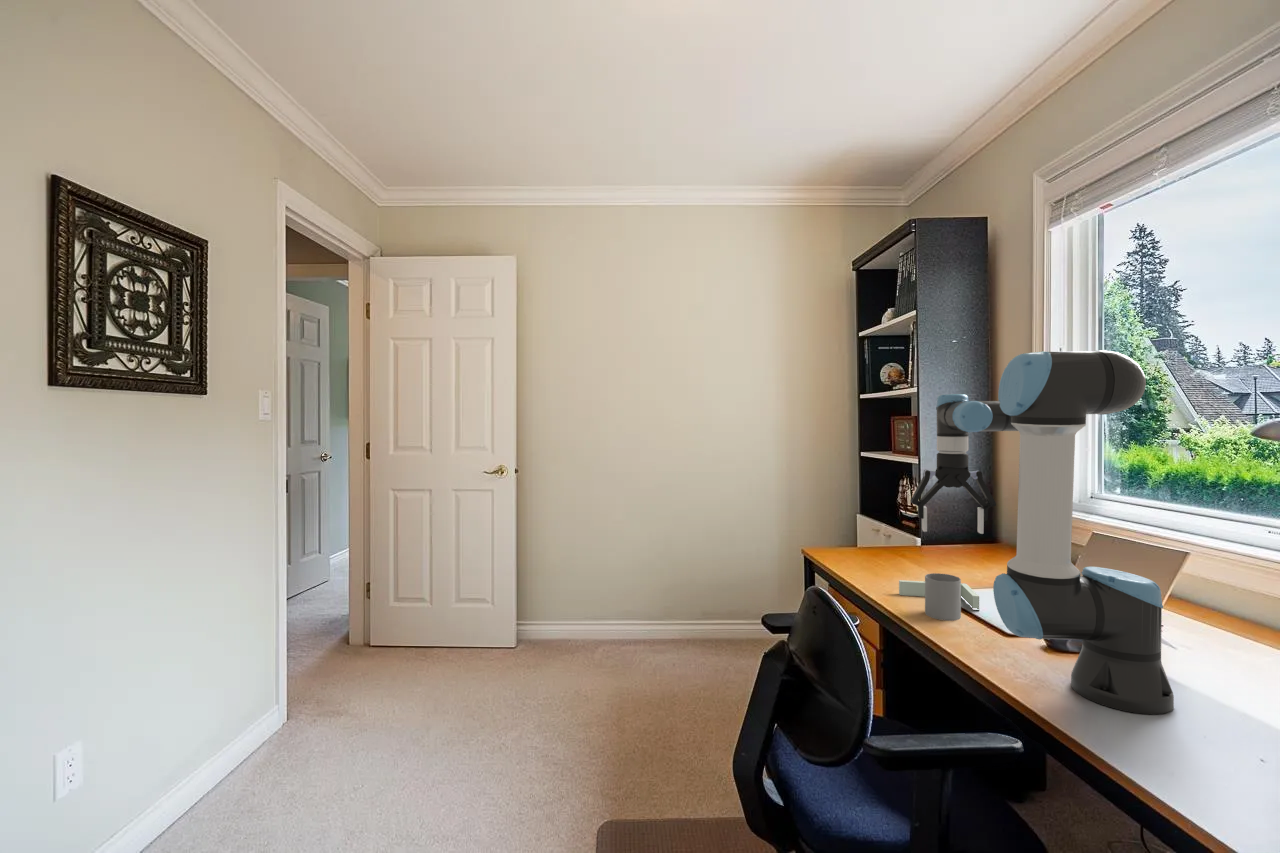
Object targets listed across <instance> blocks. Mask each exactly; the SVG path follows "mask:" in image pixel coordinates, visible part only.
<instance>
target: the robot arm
mask: <svg viewBox="0 0 1280 853" xmlns="http://www.w3.org/2000/svg"><path fill="white" fill-rule="evenodd" d="M1146 380H1147V379H1146V375H1145V373H1144V371H1143V369H1142V368H1141V366H1140V365H1139V363H1137V362H1136V361H1135V360H1133V359H1132V358H1130V357H1129V356H1127V355H1126V354H1123V353H1120V352H1118V351H1117V352H1116V351H1110V350H1089V351H1088V350H1085V351H1083V350H1080V351H1078V350H1076V351H1073V350H1072V351H1071V350H1070V351H1046V350H1045V351H1043V350H1042V351H1034V352H1026V353H1025V352H1024V353H1020V354H1018V355H1016V356H1015V357H1013V358H1012V359H1011V360H1010V361H1009V362H1008V363H1007V365H1006V367H1005V368H1004V370H1003V372H1002V374H1001V378H1000V380H999V385H998V394H997V395H998V397H997V398H998V400H969V396H968V395H967V394H964V393H963V394H961V393H956V394H955V393H952V394H949V393H948V394H940V395H938V396H937V399H936V407H935V410H936V451H938V452H937V453H936V469H935V471H934V470H928V469H924V470H923V474H922V479H921V480H920V482H919V483H918V486H917V488H916V490H915V491H914V493H913V495H912V497H911V498H910V503H912V504H913V505H915V506H917V517H918V518H919V519H921V530H922V531H923V532H924V533H926V532H928V507H927V506H926V504H927V503H928V502H929V501H930V500H931V499H932V498H933V497H934V496H935V495H936V494H937V493H938V491H939V490H940V489H943V487H944V488H956V489H957V488H958V489H959V488H962V487H963V489H965V491H967V492H968V493H969V495H970V496H971V497H972V498H973V499H974V501H976V503H978V504H979V507H977V533H978V534H981V535H983V534H984V527H985V526H984V524H985V523H984V522H985V521H988V519H989V509H990V508H992V507H996V506H997V503H996V501H995V499H994V497H993V495H992V494H991V492H990V490H989V488H988V486H987V484H986V483H985V481H984V479H983V472H982V471H980V470H978V469H977V470H974V471H970V470H969V454H968V453H967V452H968V451H969V433H979V432H1018V433H1019V453H1018V454H1019V455H1018V456H1019V457H1018V458H1019V459H1018V462H1019V463H1018V492H1017V523H1016V524H1017V528H1016V530H1017V531H1016V555H1015V556H1014V557H1012V558H1011V559H1009V560H1008V561H1007V563H1006V573H1001V574H998V575H996V576H995V579H994V581H993V588H992V591H993V598H994V602H995V606H996V610H997V612H998V614H999V617H1000V619H1001V622H1002V623H1003V624H1004V626H1005V627H1006V628H1007V629H1008V631H1009V632H1010V633H1012V634H1013V635H1014V636H1018V637H1020V638H1029V639H1036V640H1039V641H1040V640H1071V641H1073V640H1074V641H1075V640H1076V641H1081V644H1082V645H1081V649H1080V652H1079V654H1078V656H1077V659H1076V661H1075V662H1074V666H1073V668H1072V671H1071V674H1070V682H1071V683H1070V686H1071V688H1072V689H1073V691H1075V692H1076V693H1078V695H1080V696H1081V697H1083V698H1085V699H1087V700H1089V701H1092V702H1094V703H1096V704H1099V705H1102V706H1104V707H1108V708H1111V709H1115V710H1120V711H1123V712H1128V713H1135V714H1142V715H1143V714H1144V715H1162V714H1167V713H1170V712H1172V711H1173V709H1174V707H1175V705H1174V704H1175V703H1174V701H1175V700H1174V699H1175V698H1174V697H1175V696H1174V692H1173V690H1172V687H1171V685H1170V682H1169V679H1168V676H1167V673H1166V671H1165V668H1164V666H1163V663H1162V624H1163V623H1162V621H1163V620H1162V615H1163V614H1162V613H1163V610H1162V609H1164V605H1163V599H1162V591H1161V587H1160V585H1158V583H1156V582H1155V581H1153V580H1152V579H1149V578H1147V577H1144V576H1142V575H1137V574H1134V573H1131V572H1127V571H1122V570H1117V569H1114V568H1113V569H1111V568H1106V567H1099V566H1085V567H1083V568H1082V570H1081V571H1080V569H1078V567H1076V566H1075V565H1074V563H1072V560H1071V558H1072V532H1073V506H1074V481H1075V479H1074V478H1075V454H1076V453H1075V451H1076V434H1077V433H1079V431H1081V430H1082V429H1083V428H1084V427H1086V425H1087V415H1109V414H1114V413H1118V412H1121V411H1122V412H1123V411H1126V410H1127V409H1130V408H1131V407H1133V406H1135V404H1137V403H1138V402H1139V401H1140V399H1141V398H1142V397H1143V395H1144V393H1145V391H1146V386H1147V384H1146V383H1147V381H1146ZM934 476H935V478H936V479H937V480H936V482H935V483H934V485H933V486H932V487H931V488H930V489H929V490H927V492H926V493H925V494H924V496H922V494H923V492H924V490H925V489H926V487H927V485H928V483H929V481H930V479H932V478H933V477H934ZM970 477H972V479H974V480H975V482H976V484H977V485H978V487H979V489H980V491H981V492H982V494H983V496H984V498H985V500H986V501H985V500H984V499H983V497H981V496H980V495H979V494H978V493H977V492H976V491H975V489H974V488H973V487H972V486H971V485H970V484H969V482H967V481H968V480H969V479H970ZM921 496H922V498H921Z"/></svg>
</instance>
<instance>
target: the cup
mask: <svg viewBox="0 0 1280 853" xmlns="http://www.w3.org/2000/svg"><path fill="white" fill-rule="evenodd" d="M924 581H925V597H924V613H925V615H926V616H928V617H930V618H932V619H935V620H939V621H948V622H949V621H952V622H953V621H958V620H960V619H961V617H962V603H961V602H962V599H961V583H962V579H961V578H960V577H959V576H956V575H953V574H947V573H936V572H935V573H926V574H925V575H924Z"/></svg>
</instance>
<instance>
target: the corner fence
mask: <svg viewBox="0 0 1280 853" xmlns="http://www.w3.org/2000/svg"><path fill="white" fill-rule="evenodd" d="M898 595H899V596H909V597H924V598H925V580H924V581H922V580H921V581H920V580H919V581H918V580H904V579H903V580H902V579H899V580H898ZM961 596H962V597H963V598H964V599H965V600H966V601H967V602H968V603H969V604H970V605H971V606H972V608H977V609H979V610H980V595H979V594H978V593H977V592H975V591H974V590H973V589H972V588H971V587H970V586H969V585H968V584H967V583H962V582H961Z"/></svg>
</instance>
